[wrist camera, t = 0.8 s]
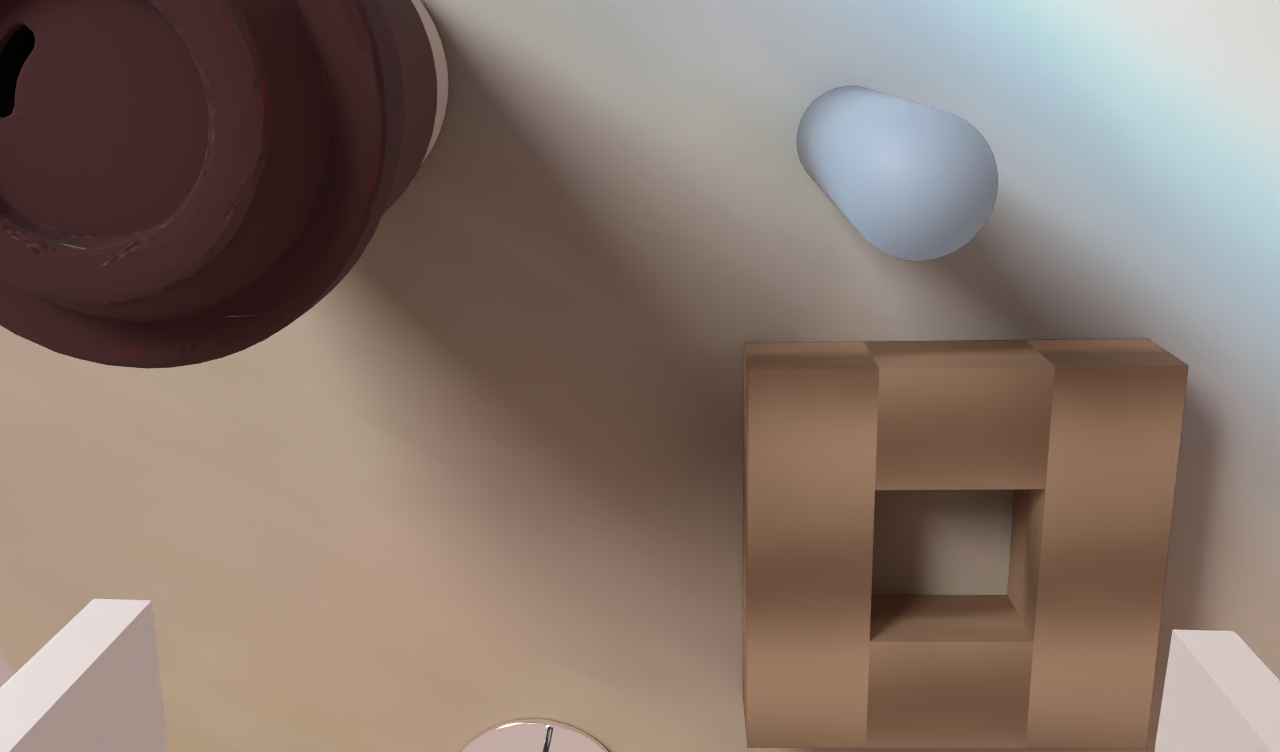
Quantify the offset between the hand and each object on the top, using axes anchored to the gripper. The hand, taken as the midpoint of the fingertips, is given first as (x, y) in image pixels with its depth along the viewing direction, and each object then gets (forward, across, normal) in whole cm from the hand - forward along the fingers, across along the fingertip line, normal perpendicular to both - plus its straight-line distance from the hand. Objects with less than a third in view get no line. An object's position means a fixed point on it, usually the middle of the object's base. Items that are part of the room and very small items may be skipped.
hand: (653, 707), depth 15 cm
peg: (+21, +5, +6) cm, 23 cm away
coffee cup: (+22, -10, +7) cm, 25 cm away
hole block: (+21, +8, -6) cm, 24 cm away
